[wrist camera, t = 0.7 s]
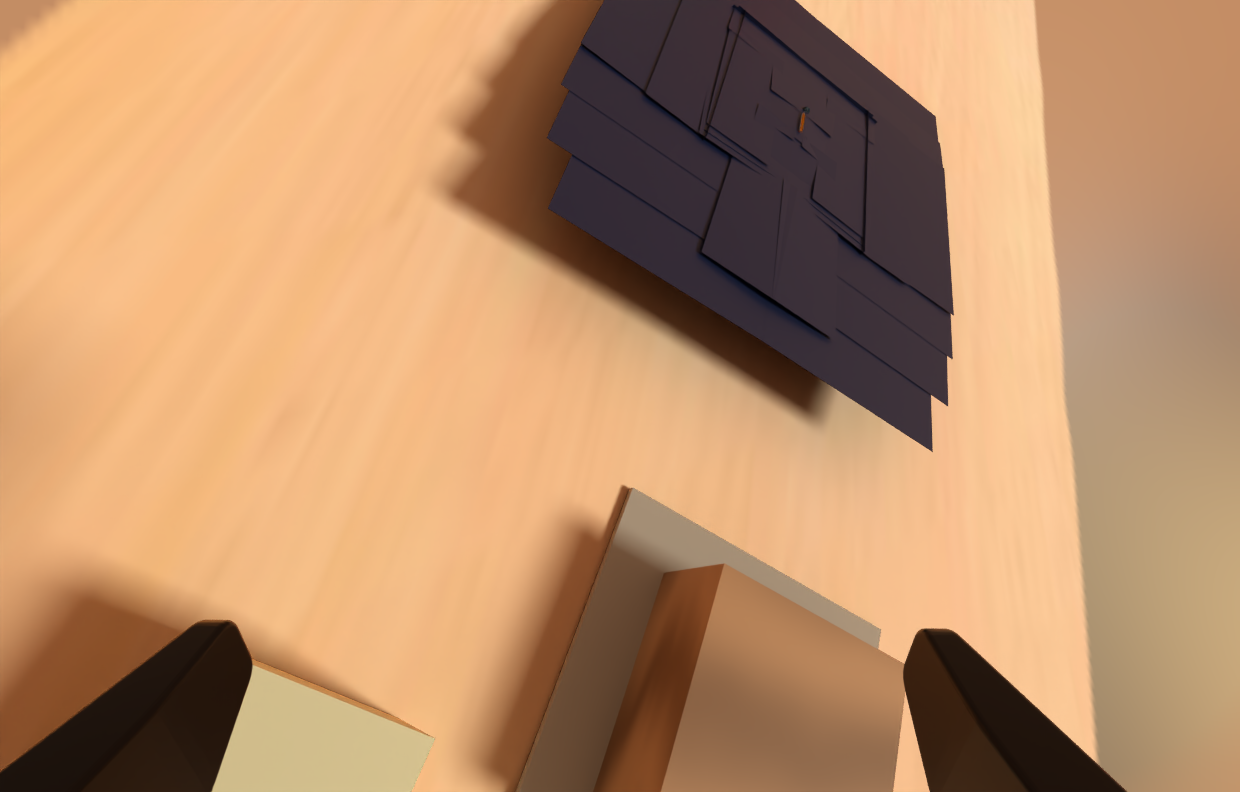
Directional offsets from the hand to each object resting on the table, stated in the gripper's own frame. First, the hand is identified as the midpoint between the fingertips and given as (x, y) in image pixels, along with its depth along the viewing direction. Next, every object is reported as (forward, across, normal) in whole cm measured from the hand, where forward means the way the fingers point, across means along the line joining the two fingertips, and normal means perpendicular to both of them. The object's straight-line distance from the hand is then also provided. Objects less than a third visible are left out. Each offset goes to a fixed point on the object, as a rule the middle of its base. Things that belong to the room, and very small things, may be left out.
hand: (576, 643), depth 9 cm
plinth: (+9, -4, +17) cm, 19 cm away
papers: (+34, -9, +1) cm, 35 cm away
